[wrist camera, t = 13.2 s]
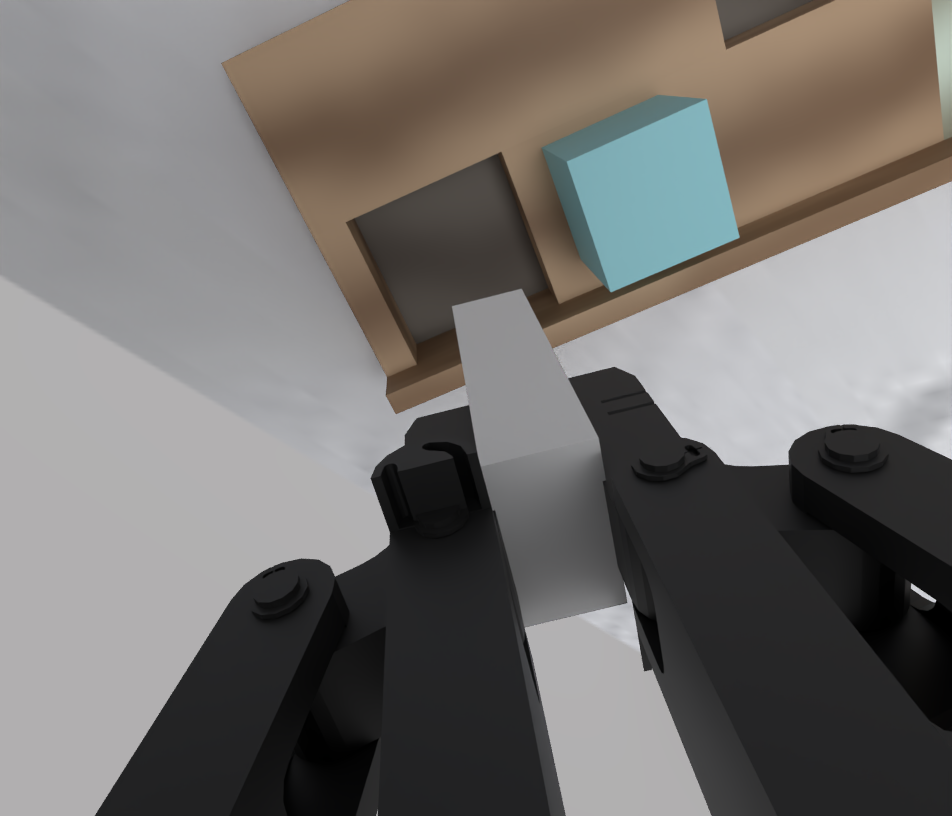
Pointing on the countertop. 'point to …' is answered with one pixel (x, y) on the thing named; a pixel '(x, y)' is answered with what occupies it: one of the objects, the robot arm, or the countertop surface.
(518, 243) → the trap board
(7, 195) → the countertop surface
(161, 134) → the countertop surface
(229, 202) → the countertop surface
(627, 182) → the teal block
